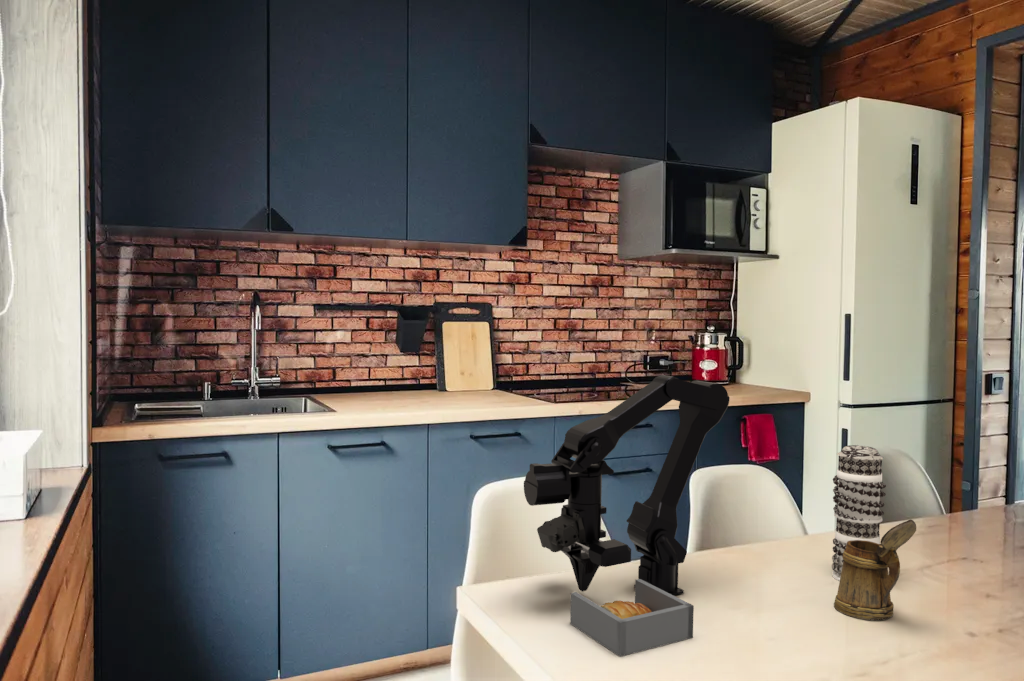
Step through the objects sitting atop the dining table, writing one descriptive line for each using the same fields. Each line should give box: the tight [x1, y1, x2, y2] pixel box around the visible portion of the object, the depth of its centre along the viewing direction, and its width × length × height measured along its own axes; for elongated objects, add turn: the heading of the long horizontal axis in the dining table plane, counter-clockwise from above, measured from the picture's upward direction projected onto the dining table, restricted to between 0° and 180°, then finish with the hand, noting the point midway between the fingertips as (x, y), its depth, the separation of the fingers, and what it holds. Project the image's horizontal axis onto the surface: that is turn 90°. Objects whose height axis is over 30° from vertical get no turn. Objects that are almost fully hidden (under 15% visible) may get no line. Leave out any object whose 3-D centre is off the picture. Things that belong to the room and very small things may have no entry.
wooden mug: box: [833, 519, 917, 621], centre depth 127 cm, size 9×14×18 cm, turn 20°
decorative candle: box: [831, 444, 887, 582], centre depth 145 cm, size 9×9×25 cm
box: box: [569, 578, 695, 657], centre depth 120 cm, size 14×13×5 cm
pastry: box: [600, 600, 652, 619], centre depth 123 cm, size 9×7×4 cm
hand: (582, 590), depth 131 cm, fingers closed
